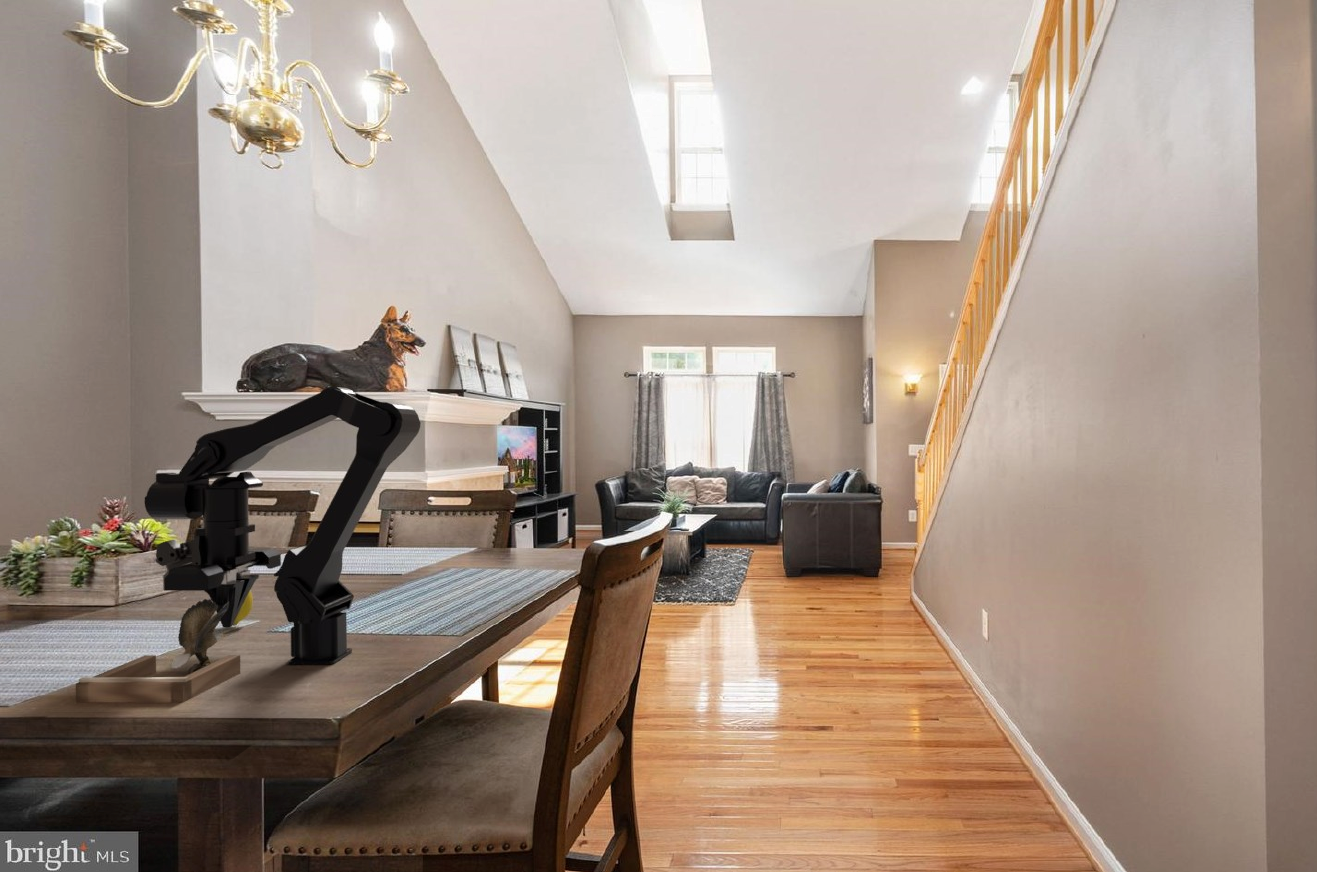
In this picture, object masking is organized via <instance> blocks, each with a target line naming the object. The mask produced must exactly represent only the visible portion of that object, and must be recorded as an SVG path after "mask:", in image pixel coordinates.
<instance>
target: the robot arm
mask: <svg viewBox="0 0 1317 872" xmlns="http://www.w3.org/2000/svg"><path fill="white" fill-rule="evenodd" d="M337 419H340V420H342V421H343V422H345V423H346V424H348V425H351V426H353V427H355V428H358V430H357V432H356V435H355V436H356V437H355V438H356V439H355V441H356V442H355V455H354V457H353V460H352V461H351V463H350V465H349V467H348V469H347V471H346V473H345V475H344V477H343V478H342V480H341V481H340V484H339V486H338V488H337V490H336V492H335V494H334V496H333V498H332V500H331V501H330V503H329V505H328V507H327V509H326V511H325V512H324V515H323V517H322V519H321V521H320V522H319V524H318V526H317V528H316V530H315V532H314V534H313V536H312V537H311V539H310V541H309V543H308V544H306V545H304V546H300V547H296V548H292V549H288V550H287V552H286V553H285V554H284V557H283V561H282V554H281V552H280V551H278V549H276V548H275V547H259V548H258V547H250V545H249V544H250V542H249V541H250V540H249V539H250V538H249V537H250V533H254V532H256V524H254V523H253V524H252V523H251V524H249V489H255V488H262V487H263V486H264V483H263V482H262V481H261V480H260V479H259V478H257V477H256V476H254V474H253V472H252V471H246V470H248V469H249V468H251V467H252V466H254V465H256V464H257V463H258V462H260V461H261V460H264V458H265V457H266V456H267V455H268V454H269V452H270V451H271V450H272V449H274V448H275V447H277V446H279V445H282V444H284V443H286V442H288V441H290V440H292V439H295V438H297V437H299V436H302V435H304V434H306V433H308V432H310V431H312V430H315V429H317V428H319V427H321V426H323V425H325V424H328V423H329V422H332V421H335V420H337ZM420 429H421V421H420V418H419V415H418V413H417V411H416V410H415V408H413V407H412V406H410V405H408V404H405V403H397V402H396V403H395V402H385V401H382V400H381V401H380V400H377V399H374V398H372V397H368V396H365V395H364V394H363V395H362V394H360V393H358V392H355V391H354V390H352V389H350V388H346V387H340V386H339V387H338V386H328V387H325V388H324V389H323V390H322V391H320V392H319V393H316V394H313V395H312V396H310V397H308V398H306V399H303V400H300V401H299V402H297V403H294V404H293V405H291V406H290V405H289V406H288V407H285V408H283V409H281V410H279V411H277V412H275V413H273V414H270V415H269V416H266V417H263V418H262V419H260V420H257V421H255V422H253V423H249V424H244V425H240V426H235V427H230V428H224V429H220V430H217V431H212V432H208V433H205V434H203V435H201V436H200V437H198V439H197V440H196V442H195V444H196V445H195V447H194V450H193V453H191V456H190V457H189V458H188V460H186V463H185V464H184V465H183V467H182V468H181V470H180V471H179V473H176V472H156V474H155V481H154V482H153V483H152V484H151V485H150V486H149V488H148V489H147V493H146V496H145V497H144V507H145V510H146V512H147V514H148V516H150V517H151V518H152V519H154V520H198V519H199V518H201V517H202V527H198V528H195V531H194V532H193V539H191V540H189V541H185V542H181V543H180V542H178V541H177V540H176V539H170V540H165V541H163V542H160V543H157V544H156V551H155V558H156V559H155V562H156V564H159V566H161V567H165V568H166V570H167V571H166V572H165V573H164V574H163V575H162V590H163V591H170V592H171V591H173V592H174V591H176V592H177V591H181V592H182V591H189V592H193V591H194V592H195V591H198V592H201V591H202V592H205V593H207V595H208V596H209V599H211V600H212V602H215V604H216V605H218V608H217V610H216V611H215V613H216V614H217V613H219V611H220V610H221V609H222V608H223V607H224V605H225V604H227V603H228V602H229V607H228V609H227V611H226V612H225V614H224V615H223V616H222V617H221V619H220V624H221V626H222V628H224V629H225V628H227V629H228V628H232V627H233V623H234V621H235V619H236V617H237V615H238V613H239V611H240V609H241V607H242V605H243V603H244V601H245V599H246V597H247V595H248V593H249V591H250V590H251V591H252V588H253V586H254V584H255V583H256V580H258V579H259V578H260V575H259V574H251V570H249V568H251V567H255V566H256V567H266V568H267V569H271V570H272V569H275V568H278V567H279V569H278V570H277V571H276V572H275V573H274V574H273V576H274V577H277V578H276V579H275V583H274V585H273V586H274V589H273V590H274V592H275V595H276V598H277V599H278V601H279V602H280V604H281V606H282V609H283V611H284V614H285V616H286V620H287V621H288V623H293V626H292V627H291V628H290V630H289V631H290V633H289V634H290V657H291V658H290V659H288V660H287V665H334V664H336V663H337V662H338V661H341V660H342V659H343V658H345V657H347V656H348V655H349V654H350V653H352V652H353V648H351V647H348V644H347V643H348V637H347V635H348V634H347V633H348V631H347V630H348V629H347V627H348V626H347V621H348V619H347V618H348V617H347V616H348V615H347V612H345V611H346V610H349V609H350V608H351V607H352V603H353V601H354V598H355V596H354V594H353V592H351V591H350V590H349V589H348V588H347V587H346V586H345V584H343V583H342V582H341V581H340V580H339V579H340V576H341V574H342V571H343V556H344V555H343V553H344V550H345V548H346V546H347V544H348V542H349V541H350V539H351V537H352V535H353V533H354V531H355V530H356V528H357V525H358V523H359V521H360V520H361V518H362V516H363V514H364V512H365V510H366V508H367V507H368V505H369V503H370V501H371V499H372V497H373V495H374V493H375V491H376V490H377V488H378V485H380V482H381V480H382V478H383V476H384V474H386V471H387V469H388V468H389V466H390V465H392V464H393V463H394V461H395V460H397V459H398V458H399V457H400V456H401V455H402V454H403V453H404V452H405V451H406V450H407V448H408V447H410V445H411V443H412V442H413V441H414V439H415V438H416V437H417V436H418V434H419V432H420ZM238 472H239V473H238ZM233 473H238V475H236V476H231V475H232V474H233ZM214 479H215V480H214ZM210 480H214V481H213V482H212V483H210Z"/></svg>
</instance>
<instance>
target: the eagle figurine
mask: <svg viewBox="0 0 1317 872" xmlns="http://www.w3.org/2000/svg"><path fill="white" fill-rule="evenodd" d="M228 607H229V602H228V603H227V604H225V605H224V607H223V608H222V609H221V610H220V611H219V613H217V612H216V610H217V608H218V605H216V604H215V602H212V600H211V598H208V599H206V598H205V599H202V601H200V600H199V601H198V602H197V601H196V604H193V605H191V607H189V608H187V610H186V611H185V613H183V616H182V617H181V619H180V620H181V621H180V627H179V631H178V635H177V636H178V637H177V638H178V639H177V640H178V644H179V645H180V647H182V648H183V649H184V652H183V653H181V654H179V655H178V656H175V657H174V659H173V660H172V663H171V665H170V667H171V669H174V670H177V669H179V668H182V667H183V666H184V665H186V664H187V663H188V662H189V660H190V658H191V657H192V656H194V655H195V657H196V659H197V660H198V661H199V662H198V663H194V664H193V665H192V666H191V667H190V668H189V673H190V674H191V673H193V672H195V670H196V669H201V668H203V667H206V666H208V665H210V664H212V663H214V662H213V661H211V660H210V658H209V656H208V655H207V653H208V652H207V651H208V649H209V648H211V647H213V646H214V645H215V644H216V643H218V641H219V640H221V639H222V638H225V637H226V634H225V633H215V634H214V631H215V630H216V628H217V626H218V625H219V623H221V621H220V619H221V617H222V616H223V615H224V614H225V612H226V611H227V609H228Z"/></svg>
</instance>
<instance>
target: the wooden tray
mask: <svg viewBox="0 0 1317 872" xmlns="http://www.w3.org/2000/svg"><path fill="white" fill-rule="evenodd" d="M155 674H157V655H152V654H151V655H147V654H146V655H143V656H140V657H138V658H136V659H133V660H131V661H128V662H125V663H123V664H121V665H119V666H116V667H113V668H110V669H109V670H106V671H104V672H100V673H99V674H96V675H94V676H89V677H85V676H84V677H81V678H78V682H77V683H75V702H76V703H185V702H187V701H189V700H191V699H193V698H195V697H197V696H199V695H201V694H203V693H205V692H206V691H209V690H210V689H213V688H215V687H217V686H219V685H221V684H223V683H224V682H227V681H229V680H231V679H233V678H235V677H236V676H238V675H240V674H241V655H240V654H229V655H227V656H225V657H223V658H220V659H218V660H216V661H214V662H213V663H212V664H210V665H208V666H206V667H204V666H202V667H200V668H198V669H197V670H196V671H195V670H194V671H193V672H192V673H190V674H187V675H185V676H159V677H158V676H155V677H154V676H153V675H155Z"/></svg>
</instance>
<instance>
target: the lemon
mask: <svg viewBox="0 0 1317 872" xmlns="http://www.w3.org/2000/svg"><path fill="white" fill-rule="evenodd" d="M253 601H254V599H253V593H252V589H251V590H250V591H249V593H248V595H247V597H246V599H245V601H244V603H243V605H242V607H241V609H240V611H239V613H238V615H237V617H236V619H235V621H234V623H233V625H232V627H233V626H237V625H238V624H239V623H240V622H242V621H243V620H244V619H246V618H247V617H248V616H249V615H250V613H251V611H252V609H253V605H254V602H253Z"/></svg>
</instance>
